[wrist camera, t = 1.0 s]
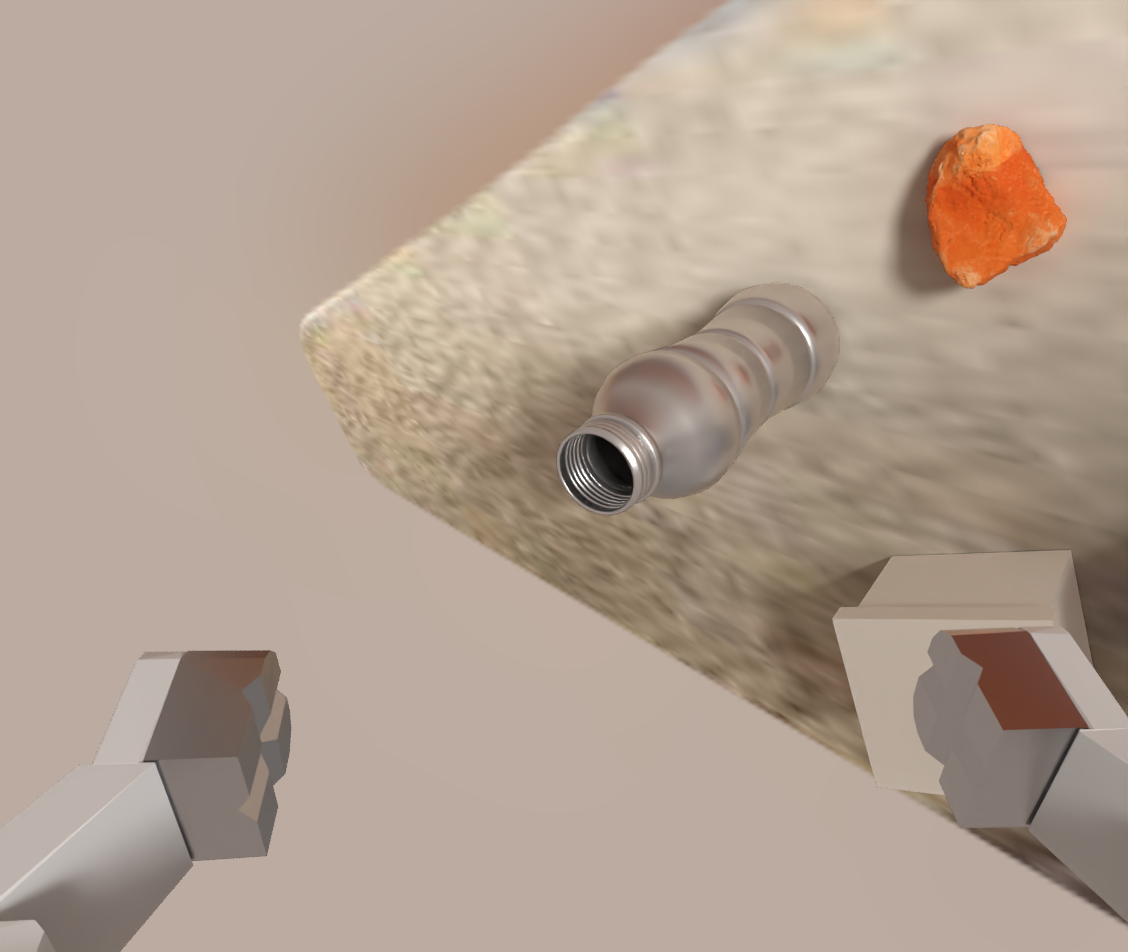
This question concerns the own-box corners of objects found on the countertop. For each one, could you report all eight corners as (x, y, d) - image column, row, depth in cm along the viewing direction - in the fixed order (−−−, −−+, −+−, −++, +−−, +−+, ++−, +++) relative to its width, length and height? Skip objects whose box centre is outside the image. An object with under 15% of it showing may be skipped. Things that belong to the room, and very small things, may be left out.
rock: (1069, -5, 39) (1052, -6, 36) (1202, 254, 40) (1197, 276, 37) (824, 156, 47) (792, 167, 44) (939, 369, 48) (915, 395, 45)
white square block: (1080, 540, 46) (1052, 620, 40) (1112, 713, 49) (1091, 813, 43) (881, 548, 53) (831, 618, 47) (918, 701, 55) (876, 787, 49)
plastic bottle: (751, 255, 50) (536, 365, 36) (870, 300, 48) (691, 438, 33) (721, 362, 54) (513, 502, 39) (830, 409, 51) (651, 578, 36)
